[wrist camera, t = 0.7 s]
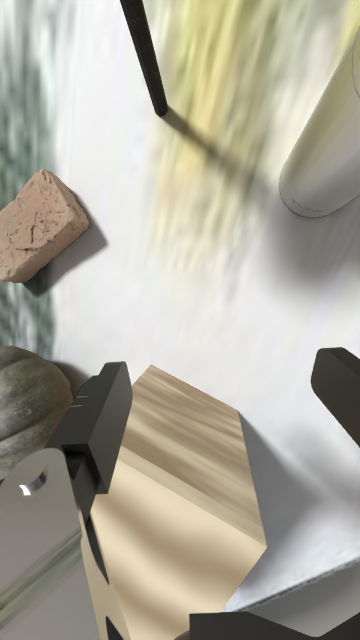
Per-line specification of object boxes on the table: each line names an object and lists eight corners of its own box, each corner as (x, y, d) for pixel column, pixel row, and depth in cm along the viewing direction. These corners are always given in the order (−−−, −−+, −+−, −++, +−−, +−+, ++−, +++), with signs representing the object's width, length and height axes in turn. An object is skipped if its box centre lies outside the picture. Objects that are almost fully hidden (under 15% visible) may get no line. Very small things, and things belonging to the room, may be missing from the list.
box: (151, 364, 32) (83, 438, 16) (237, 410, 31) (267, 547, 14) (105, 461, 36) (10, 607, 19) (181, 507, 35) (150, 707, 18)
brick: (25, 286, 35) (-3, 284, 30) (-2, 245, 35) (-34, 238, 30) (96, 227, 32) (76, 215, 27) (67, 182, 32) (42, 162, 27)
